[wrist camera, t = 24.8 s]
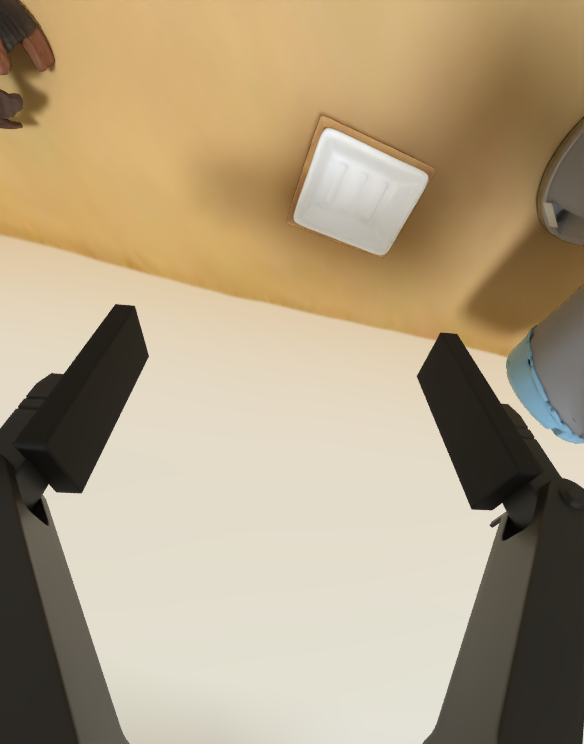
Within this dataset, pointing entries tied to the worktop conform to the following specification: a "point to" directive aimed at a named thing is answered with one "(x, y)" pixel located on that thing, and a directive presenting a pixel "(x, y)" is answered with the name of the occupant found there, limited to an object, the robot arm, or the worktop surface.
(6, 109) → the pottery mug
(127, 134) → the worktop surface
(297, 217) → the soap dish
